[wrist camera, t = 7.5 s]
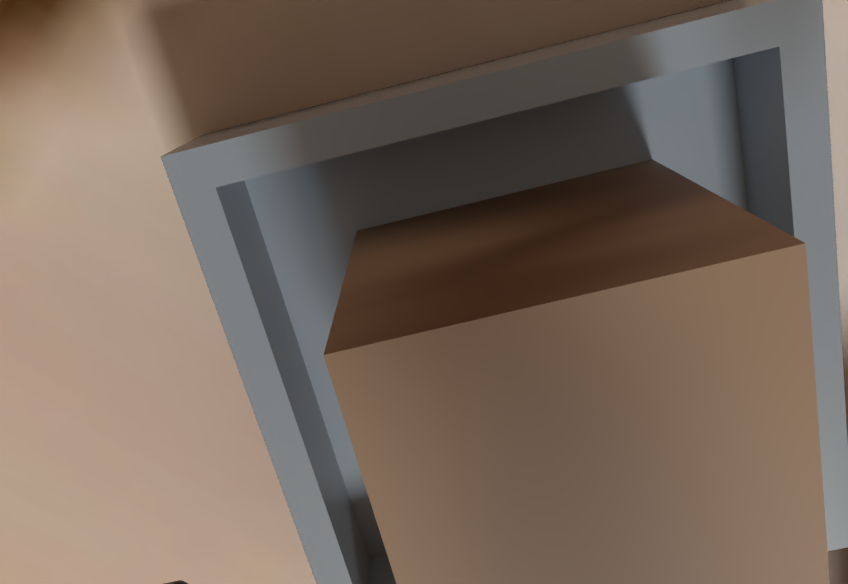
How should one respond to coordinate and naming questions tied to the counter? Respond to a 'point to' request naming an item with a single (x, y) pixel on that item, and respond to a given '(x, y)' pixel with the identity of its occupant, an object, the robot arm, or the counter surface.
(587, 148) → the tray
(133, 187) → the counter surface
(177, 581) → the robot arm
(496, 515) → the block
